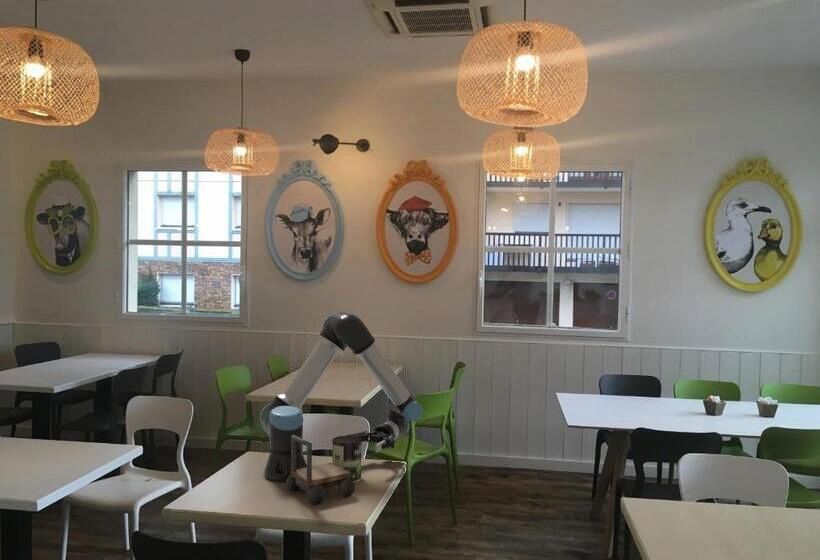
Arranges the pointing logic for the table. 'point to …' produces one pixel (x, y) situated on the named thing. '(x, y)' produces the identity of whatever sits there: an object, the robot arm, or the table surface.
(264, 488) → the table surface
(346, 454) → the coffee can
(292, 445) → the trolley
